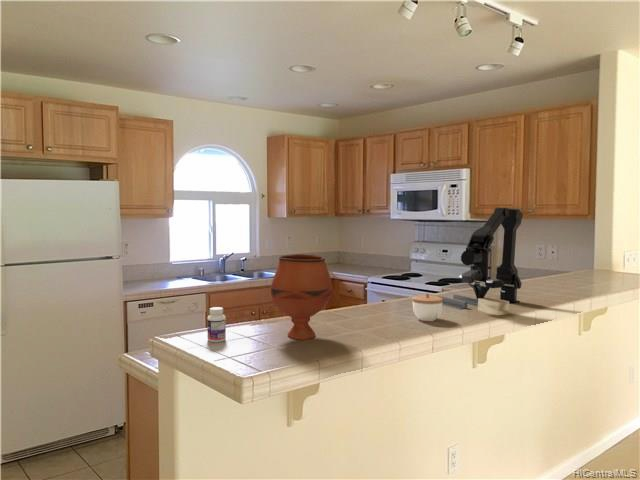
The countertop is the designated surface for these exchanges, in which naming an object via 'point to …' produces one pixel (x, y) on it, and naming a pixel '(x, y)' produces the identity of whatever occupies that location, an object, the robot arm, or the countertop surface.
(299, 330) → the goblet
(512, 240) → the robot arm
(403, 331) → the countertop surface
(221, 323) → the pill bottle
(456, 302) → the chute
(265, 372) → the countertop surface
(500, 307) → the ash block
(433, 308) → the lidded jar
